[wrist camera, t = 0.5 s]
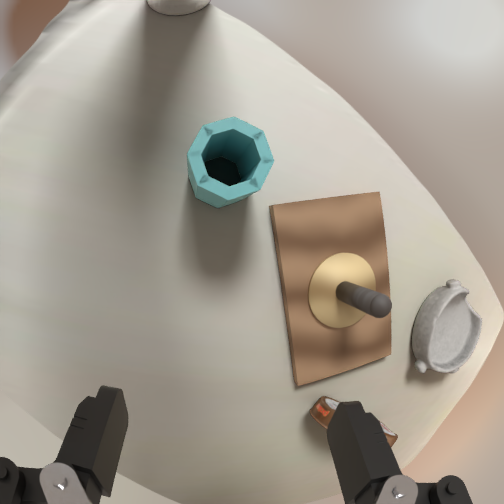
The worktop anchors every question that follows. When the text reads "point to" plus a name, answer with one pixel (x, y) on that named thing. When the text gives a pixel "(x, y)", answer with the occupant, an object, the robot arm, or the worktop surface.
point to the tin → (326, 410)
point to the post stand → (333, 283)
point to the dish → (445, 330)
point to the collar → (234, 149)
